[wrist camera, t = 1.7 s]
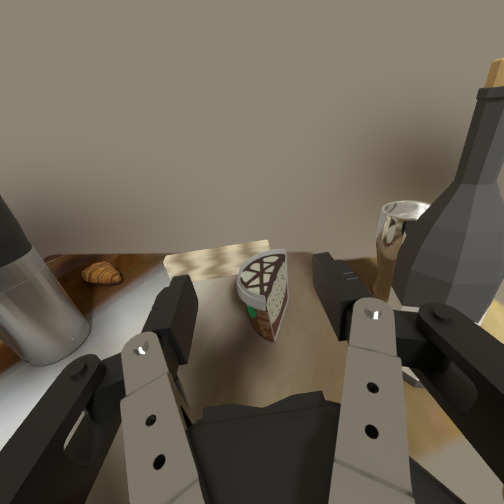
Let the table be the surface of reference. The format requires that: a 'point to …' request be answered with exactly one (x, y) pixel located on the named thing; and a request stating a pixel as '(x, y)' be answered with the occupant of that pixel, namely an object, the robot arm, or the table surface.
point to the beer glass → (393, 240)
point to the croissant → (101, 274)
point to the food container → (265, 290)
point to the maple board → (213, 261)
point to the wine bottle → (460, 225)
